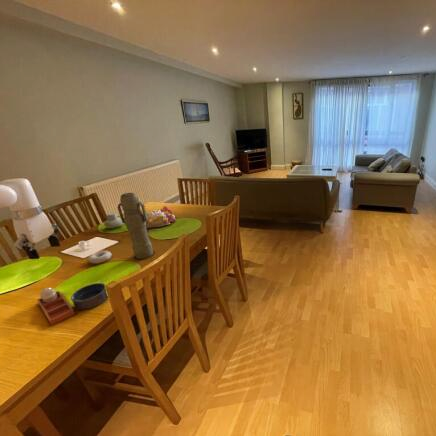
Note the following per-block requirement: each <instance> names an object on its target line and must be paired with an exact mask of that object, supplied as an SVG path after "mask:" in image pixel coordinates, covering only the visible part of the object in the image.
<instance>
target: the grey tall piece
mask: <svg viewBox="0 0 436 436" xmlns="http://www.w3.org/2000/svg"><path fill="white" fill-rule="evenodd" d="M119 200H120V201H119V203H118V204H117V210H118V214H119V218H120V219H121V220H122V223H123V224H124V225H125V227H126V229H127V230H128V233H129V237H130V240H131V243H132V246H131V247H132V251H133V254H134V256H135V259H137V260H145V259H148V258H150V257H152V256H153V255H154V250H153V244H152V241H151V240H150V238H149V234H148V230H147V228H146V222H145V221H146V220H147V219H148V218H147V211H146V210H147V209H146V206H145V203H143V201H139V198H138V196H137V195H136V193H135V192H125V193H122V194H121V195H120V199H119Z"/></svg>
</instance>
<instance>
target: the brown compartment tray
mask: <svg viewBox="0 0 436 436" xmlns="http://www.w3.org/2000/svg"><path fill="white" fill-rule="evenodd" d="M56 293H57V299H56V300H54V301H51V302H49V303H46V302H44V301H43V300H42V298H41V297H40V298H38V299H36V301H37V303H38V304H39V306H40V308H41V309H42V311H43V313H44V315H45V316H46V318H47V320H48V322H49V323H50V325H51V326H54V325H57V324H58V323H60V322H62V321H64V320H66V319H68V318H70V317H73V316H74V315H76V313H75V310H74V308H73V307H72V306H71V304H70V303H69V302H68V300H67V299H66V298H65V296H64V295H63V294H62V292H61V291H60V290H57V291H56Z"/></svg>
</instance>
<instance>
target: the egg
mask: <svg viewBox="0 0 436 436" xmlns="http://www.w3.org/2000/svg"><path fill="white" fill-rule="evenodd" d="M56 292H57V291H56V289H55V288H53V287H45V288H43V289H41V291H40V292H39V296H40V298H42V300H43V301H44V302H46V303H49V302H51V301H54V300H56V299H57V293H56Z"/></svg>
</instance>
